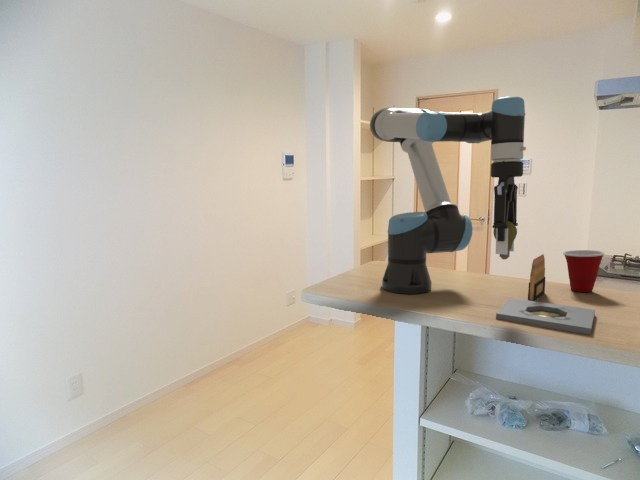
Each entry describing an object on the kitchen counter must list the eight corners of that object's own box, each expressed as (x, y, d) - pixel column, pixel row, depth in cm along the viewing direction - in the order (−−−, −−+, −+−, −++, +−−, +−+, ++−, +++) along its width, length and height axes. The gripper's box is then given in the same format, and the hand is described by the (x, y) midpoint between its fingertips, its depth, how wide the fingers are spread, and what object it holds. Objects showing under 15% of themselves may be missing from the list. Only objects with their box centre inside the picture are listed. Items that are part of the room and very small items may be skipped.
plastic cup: (565, 283, 141) (567, 247, 139) (604, 289, 134) (607, 250, 132) (556, 290, 133) (559, 252, 131) (597, 296, 126) (601, 255, 124)
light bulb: (511, 257, 115) (512, 219, 114) (519, 260, 109) (520, 221, 108) (490, 257, 115) (490, 220, 114) (496, 261, 110) (497, 221, 109)
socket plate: (495, 319, 108) (496, 313, 108) (509, 303, 121) (510, 297, 121) (590, 334, 97) (590, 328, 96) (594, 315, 109) (595, 309, 109)
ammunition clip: (534, 301, 122) (537, 259, 121) (527, 300, 124) (530, 258, 122) (544, 293, 130) (547, 254, 129) (538, 292, 132) (540, 253, 130)
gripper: (513, 158, 100) (511, 258, 102) (530, 161, 114) (528, 248, 117) (480, 160, 104) (478, 256, 107) (501, 163, 119) (499, 247, 122)
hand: (504, 252), depth 112 cm, fingers closed on light bulb, 5 cm apart
